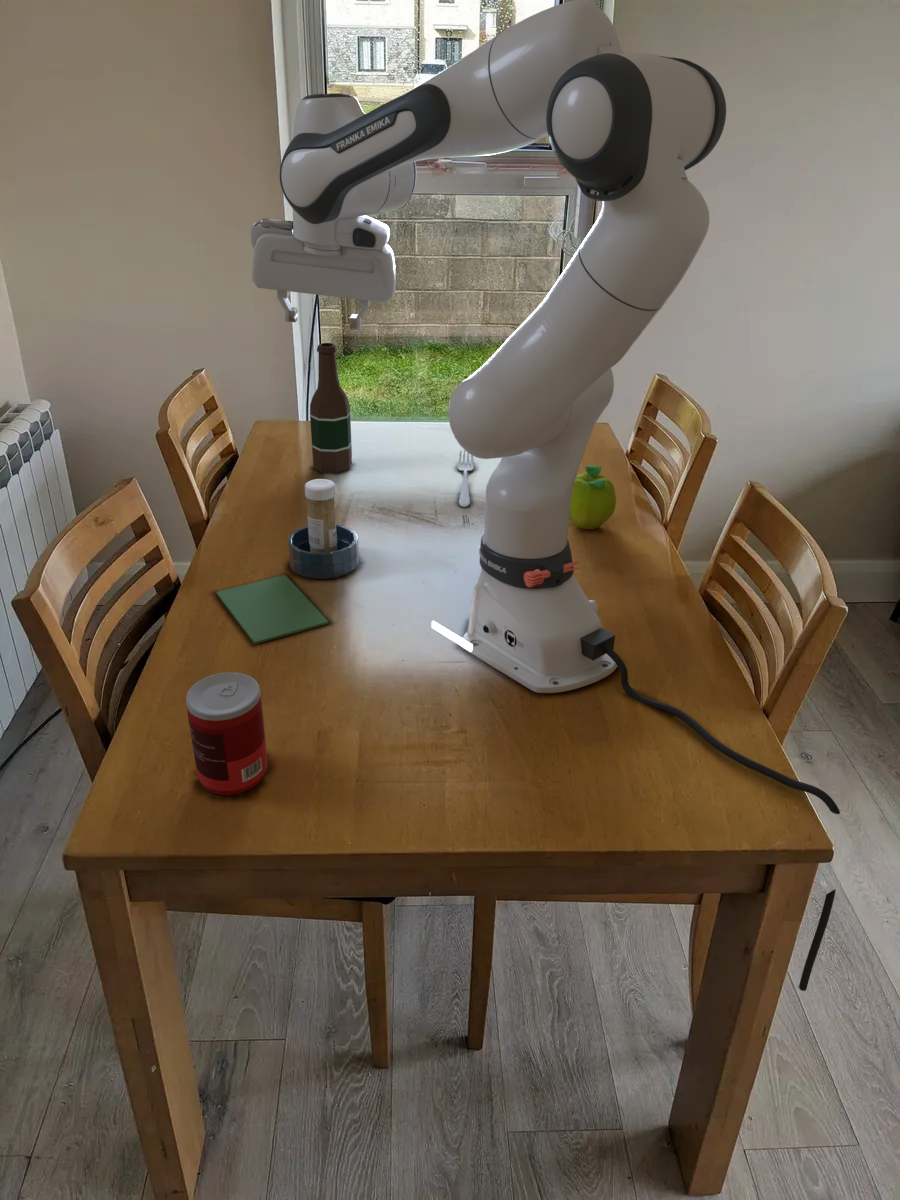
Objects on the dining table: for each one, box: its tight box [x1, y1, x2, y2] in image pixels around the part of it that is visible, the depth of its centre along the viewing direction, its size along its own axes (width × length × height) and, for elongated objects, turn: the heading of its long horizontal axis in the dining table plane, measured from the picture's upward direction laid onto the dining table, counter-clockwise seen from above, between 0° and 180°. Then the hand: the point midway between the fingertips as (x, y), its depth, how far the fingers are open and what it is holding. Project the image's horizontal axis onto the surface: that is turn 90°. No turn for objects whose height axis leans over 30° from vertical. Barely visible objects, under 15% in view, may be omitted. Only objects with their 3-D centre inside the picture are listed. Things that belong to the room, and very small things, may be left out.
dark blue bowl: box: [287, 524, 360, 580], centre depth 145 cm, size 11×11×4 cm
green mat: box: [215, 574, 329, 645], centre depth 134 cm, size 16×11×1 cm
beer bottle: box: [309, 342, 353, 474], centre depth 176 cm, size 8×8×24 cm
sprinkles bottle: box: [304, 478, 337, 553], centre depth 143 cm, size 5×5×13 cm
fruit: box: [569, 465, 617, 530], centre depth 158 cm, size 9×9×10 cm
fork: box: [457, 449, 475, 508], centre depth 176 cm, size 3×24×2 cm, turn 178°
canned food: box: [185, 672, 269, 796], centre depth 100 cm, size 8×8×11 cm
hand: (323, 324), depth 135 cm, fingers open, 8 cm apart
